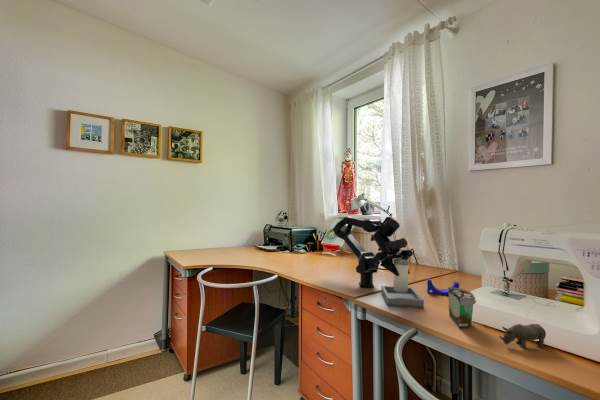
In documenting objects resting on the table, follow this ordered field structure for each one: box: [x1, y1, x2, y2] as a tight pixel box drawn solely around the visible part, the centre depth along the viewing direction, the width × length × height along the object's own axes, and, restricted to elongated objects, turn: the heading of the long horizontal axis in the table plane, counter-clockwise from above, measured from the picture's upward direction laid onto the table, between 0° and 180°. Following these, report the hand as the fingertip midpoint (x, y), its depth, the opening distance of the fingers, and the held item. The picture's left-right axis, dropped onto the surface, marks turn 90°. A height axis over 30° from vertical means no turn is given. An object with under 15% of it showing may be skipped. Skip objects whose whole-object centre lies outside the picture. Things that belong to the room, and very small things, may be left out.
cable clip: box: [426, 278, 460, 297], centre depth 121 cm, size 12×4×6 cm, turn 69°
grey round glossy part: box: [393, 259, 410, 292], centre depth 113 cm, size 6×6×12 cm
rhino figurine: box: [499, 323, 547, 350], centre depth 78 cm, size 4×14×6 cm, turn 95°
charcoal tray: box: [380, 285, 425, 309], centre depth 113 cm, size 16×13×3 cm
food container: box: [447, 286, 477, 330], centre depth 92 cm, size 12×6×10 cm, turn 168°
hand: (403, 274), depth 112 cm, fingers closed on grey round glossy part, 5 cm apart
